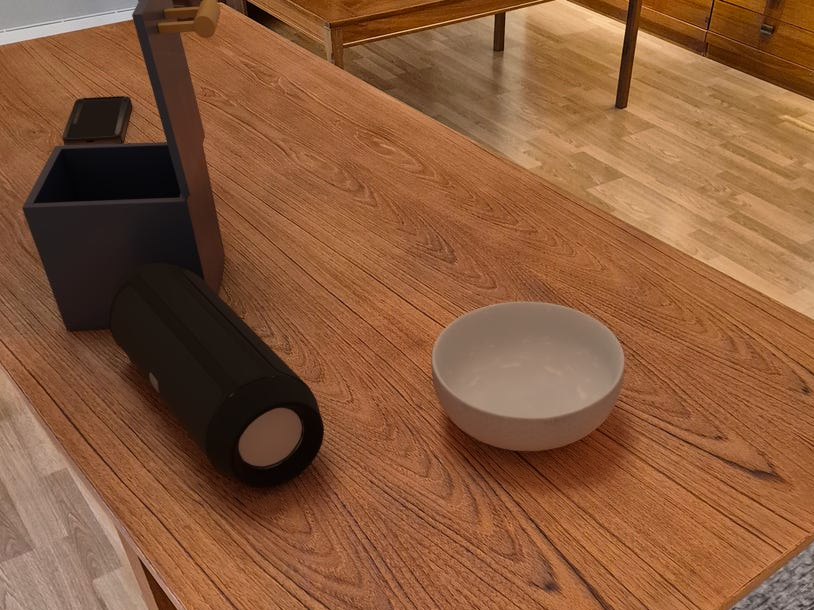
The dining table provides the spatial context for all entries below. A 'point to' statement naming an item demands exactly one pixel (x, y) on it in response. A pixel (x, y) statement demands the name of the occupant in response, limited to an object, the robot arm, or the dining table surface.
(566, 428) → the cereal bowl
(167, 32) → the lid
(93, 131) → the phone
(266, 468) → the portable speaker
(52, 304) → the dining table surface
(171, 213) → the chest
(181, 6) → the box
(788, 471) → the dining table surface
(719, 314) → the dining table surface
